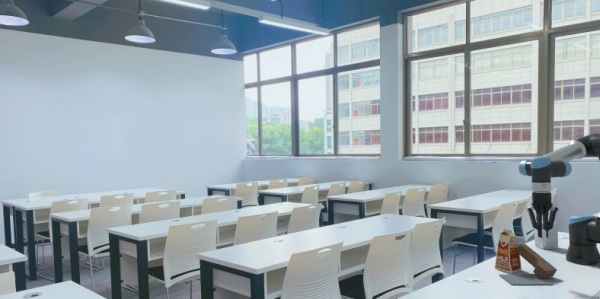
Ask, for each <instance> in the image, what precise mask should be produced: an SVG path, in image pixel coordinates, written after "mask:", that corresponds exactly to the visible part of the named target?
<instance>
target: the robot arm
mask: <svg viewBox="0 0 600 299" xmlns="http://www.w3.org/2000/svg"><path fill="white" fill-rule="evenodd" d="M591 157H592V158H598V161H599V162H600V133H591V134H587V135H585V136H581V137H579V138H577V139H574V140H571V141H570V142H569V143H568V144H567V145H564V146H563V147H560V148H557V149H555V150H553V151H550V152H548V153H546V154H543V155H540V156H534V157H532V158H531V159H526V160H522V161H521V162H519V165H518V172H519V173H520V174H521V175H522V176H527V177H531V191H532V193H531V200H532V202H531V204H530V206H527V207H526V208H525V209H526V211H527V213H528V215H529V219H530V223H531V225H532V228H533V229H537V230H538V237H539V238H540V245H542V246H546V238H548V231H549V229H553V225H554V222H555V219H556V216H557V212H558V211H559V207H556V206H554V204H553V203H552V196H553V195H552V179H553V178H564V177H565V178H566V177H568V176H570V175H571V173H572V171H573V168H572V164H571V163H570V162H571V161H574V160H576V159H577V160H582V159H584V158H591ZM534 211H535V212H534ZM535 214H536V215H535ZM536 221H537V222H536ZM542 221H543V229H544V230H542ZM568 240H569V241H568V242H569V244H568V248H567V250H566V254H565V260H566V261H568V262H570V263H572V264H573V263H574V264H579V265H590V266H591V265H592V266H593V265H596V266H597V265H600V252H599V249H598V245H600V213H599V214H596V215H590V214H589V215H588V214H584V215H572V216H570V217H569V218H568Z"/></svg>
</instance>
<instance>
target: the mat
mask: <svg viewBox="0 0 600 299" xmlns="http://www.w3.org/2000/svg"><path fill="white" fill-rule="evenodd" d="M498 276H500V278H501V279H502V280H504V281H505V282H506V283H508V284H509V285H511V286H554V285H553V283H552V282H551V281H549V280H548V279H547V278H542V279H541V278H539V277H538V276H537V275H536V274H535V273H533V274H531V273H530V274H529V273H528V274H527V273H526V274H523V273H522V274H520V273H519V274H517V273H516V274H515V273H509V274H508V273H507V274H498Z"/></svg>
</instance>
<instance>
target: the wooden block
mask: <svg viewBox="0 0 600 299" xmlns="http://www.w3.org/2000/svg"><path fill="white" fill-rule="evenodd" d="M516 252H517V253H518V254H519V255H520V257H521V258H523V259H524V260H525V261H526V262H528V263H529V264H530V266H532V267H533V268H534V269H533V271H532V273H533V274H536V275H537V276H538V277H539V278H541V279H542V278H544V279H547V278H553V277H554V276H555V274H556V272H557V271H558V269H557V268H556V267H555V266H554V265H553V264H551V263H550V262H549V261H547V260H546V259H545V258H543V257H542V256H541V255H540V254H539V253H537V252H536V251H535V250H533V248H531V247H530V246H529V245H527V244H526V243H519V244H518V248H517V249H516Z"/></svg>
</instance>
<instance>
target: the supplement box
mask: <svg viewBox="0 0 600 299" xmlns="http://www.w3.org/2000/svg"><path fill="white" fill-rule="evenodd" d="M536 222H537V220H536ZM533 229H534V228H533ZM542 230H544V229H543V220H542ZM534 246H535V247H536V248H539V249H542V250H558V249H559V233H558V222H555V221H554V225H553V229H549V231H548V238H546V246H542V245H540V238H539V237H538V230H537V229H534Z"/></svg>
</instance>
